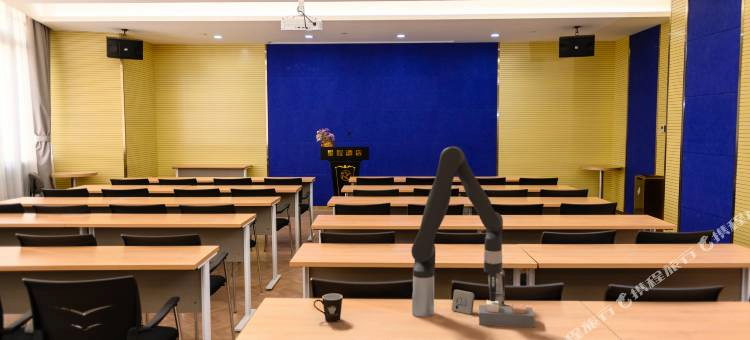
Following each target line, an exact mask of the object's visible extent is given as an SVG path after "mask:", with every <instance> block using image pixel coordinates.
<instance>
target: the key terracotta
mask: <svg viewBox="0 0 750 340" xmlns="http://www.w3.org/2000/svg"><path fill="white" fill-rule="evenodd" d="M512 307H513V313H524V314H526V305H520V304H512Z"/></svg>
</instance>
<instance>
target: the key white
mask: <svg viewBox="0 0 750 340" xmlns="http://www.w3.org/2000/svg"><path fill="white" fill-rule="evenodd" d="M485 305H486V311H487V312H499V301H490V299H489V300H488V299H486V304H485Z"/></svg>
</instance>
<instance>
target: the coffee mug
mask: <svg viewBox="0 0 750 340" xmlns="http://www.w3.org/2000/svg"><path fill="white" fill-rule="evenodd" d="M321 297H322V300H321V299H316V300H314V301H313V306H314V308H315V309H316V310H317V311H319V312H320V313H322V314H323V315H324V319H325V321H326V322H328V323H337V322H340V321H341V314H342V305H343V295H342V294H340V293H327V294H326V293H325V294H324V295H322V296H321ZM316 302H321V304H322V306H323V311H322V310H321V309H319V308H318V307H317V306H316Z"/></svg>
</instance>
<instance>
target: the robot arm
mask: <svg viewBox="0 0 750 340" xmlns="http://www.w3.org/2000/svg"><path fill="white" fill-rule="evenodd" d="M437 165H438V166H437V171H436V175H435V178H434V181H433V183H432V185H431V188H430V191H429V194H428V196H427V200H426V203H425V207H424V210H423V214H422V218H421V221H420V222H421V223H420V226H419V227H420V228H419V230H418V232H417V235H416V237H415V240H414V241H413V244H412V246H411V250H410V251H411V256H412V258H413V259H414V263H413V268H412V295H411V303H412V304H411V305H412V306H411V314H412V316H416V317H421V318H422V317H423V318H426V317H432V316H433V315H435V268H436V245H435V239H436V235H437V232H438V230H439V229H440V226H441V225H442V223H443V221H444V219H445V216H446V214H447V211H448V209H449V205H450V203H451V202H450V201H451V195H452V186H453V180H454V178H455V176H457V177H458V179H459V181H460V183H461V185H462V187H463V190H464V192H465V195H467V196H466V197H467V198H468V200H469V201H470V203H471V204H472V206H473V208H474V209H475V210H476V212H477V216H478V217H479V219H480V222H481V224H482V225H483V226H484V228H485V229H486V231H485V233H486V234H485V237H484V252H483V272H485V273H487V274H488V275H487V281H488V289H489V301H495V300H496V288H497V281H498V275H496V274H497V273H501V272H502V270H503V251H502V249H503V241H502V240H503V239H502V237H503V229H504V219H503V217H502V215H501V214H500V213H499V212H497V211H495V210H494V208H493V207H492V202H491V200H490V198H489V197H488V195H487V194H486V192H485V191H484V188H482V186H481V184H480V182H479V181H478V179H477V178H476V176H475V174H474V173H473V170H472V169H471V167H470V165H469V162H468V160H467V158H466V155H465V153H464V151H463V150H462V149H461V148H460V147H458V146H453V145H452V146H448V147H446V148H444V149H443V150H442V151H441V153H440V156H439V161H438V164H437Z"/></svg>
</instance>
